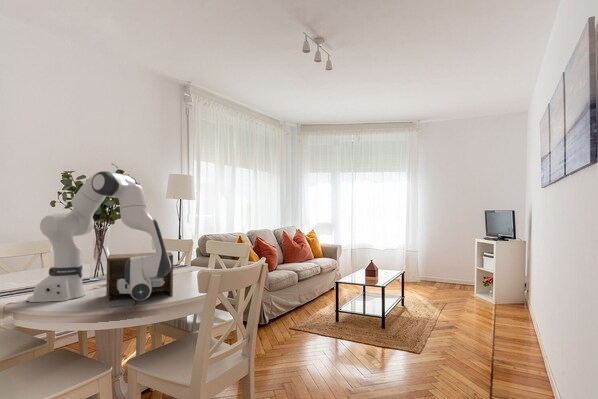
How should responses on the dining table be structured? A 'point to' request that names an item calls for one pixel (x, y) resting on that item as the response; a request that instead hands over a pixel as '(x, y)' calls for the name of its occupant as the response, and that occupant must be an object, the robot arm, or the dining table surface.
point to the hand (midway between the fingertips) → (140, 279)
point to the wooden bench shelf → (117, 272)
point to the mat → (121, 303)
